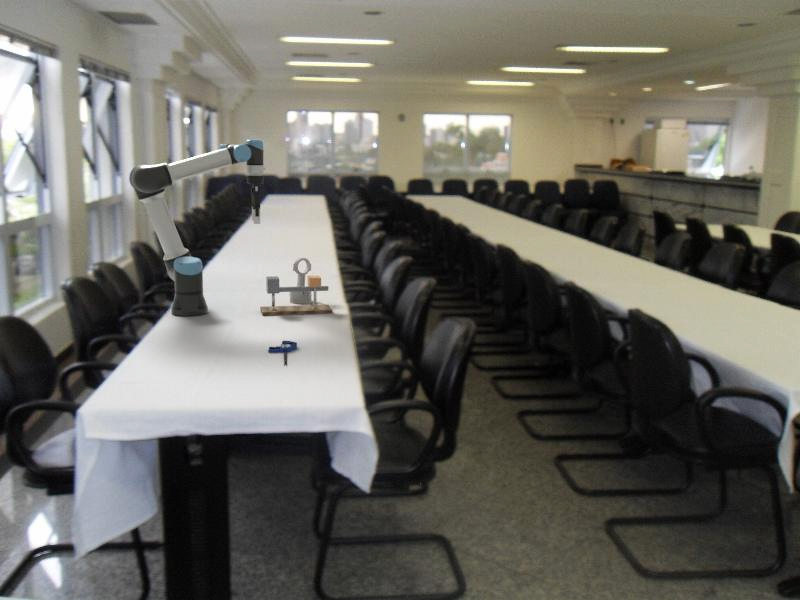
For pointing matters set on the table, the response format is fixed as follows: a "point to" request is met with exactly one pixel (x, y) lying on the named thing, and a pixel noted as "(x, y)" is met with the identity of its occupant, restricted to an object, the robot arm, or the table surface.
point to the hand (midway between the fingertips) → (256, 222)
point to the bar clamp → (284, 349)
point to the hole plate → (295, 310)
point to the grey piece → (286, 288)
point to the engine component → (301, 284)
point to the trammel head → (314, 284)
